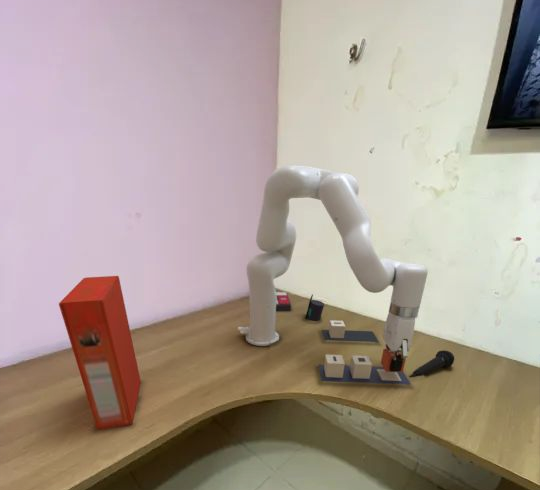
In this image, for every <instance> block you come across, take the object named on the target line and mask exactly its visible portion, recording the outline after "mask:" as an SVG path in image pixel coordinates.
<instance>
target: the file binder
mask: <svg viewBox="0 0 540 490" xmlns="http://www.w3.org/2000/svg"><path fill="white" fill-rule="evenodd" d="M122 290H123V289H122V285H121V280H120V277H119V275H109V276H106V275H105V276H90V277H88V276H87V277H83V278H82V279H81V280H80V281H79V282H78V283H77V284H76V285H75V286H74V287H73V288H72V289H71V290H70V291H69V292H68V293H67V294H66V295H65V297H64V298H62V300H61V301H59V302H58V307H59V310H60V312H61V316H62V319H63V322H64V326H65V329H66V333H67V335H68V339H69V342H70V345H71V348H72V352H73V355H74V358H75V361H76V365H77V368H78V371H79V374H80V378H81V381H82V384H83V387H84V391H85V394H86V397H87V400H88V403H89V407H90V410H91V413H92V416H93V420H94V423H95V426H96V429H97V430H99V431H100V430H105V429H111V428H117V427H123V426H131V425H132V424H133V423H134V419H135V413H136V407H137V404H138V399H139V393H140V388H141V383H142V381H141V377H140V371H139V367H138V362H137V357H136V352H135V348H134V347H135V346H134V343H133V339H132V334H131V329H130V328H131V327H130V324H129V318H128V314H127V310H126V304H125V300H124V299H125V298H124V295H123V291H122Z"/></svg>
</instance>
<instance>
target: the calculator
mask: <svg viewBox="0 0 540 490" xmlns="http://www.w3.org/2000/svg"><path fill="white" fill-rule="evenodd" d="M291 310H292V304H291V301H290V298H289V294H288V292H285V291H283V292H282V291H276V312H290V311H291Z"/></svg>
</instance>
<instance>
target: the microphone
mask: <svg viewBox="0 0 540 490" xmlns="http://www.w3.org/2000/svg"><path fill="white" fill-rule="evenodd" d="M454 361H455V355H454V354H453V353H452V352H451V351H449V350H445V349H443V350H439V351H437V352H436V354H435V357H434V358H432V359H430V360H429V361H427V362H425V363H424V364H423V365H421V366H419V367H418V368H416V369H415V370H414V371H413V372H412V373H411V374H410V375H409V376H408V378H415V377H421V376H425V375H427V374H429V373H433V372H434V371H436V370H438V369H440V368H442V367H443V368H451V367H452V366H453V364H454V363H455V362H454Z"/></svg>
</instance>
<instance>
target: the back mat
mask: <svg viewBox="0 0 540 490" xmlns="http://www.w3.org/2000/svg"><path fill="white" fill-rule="evenodd" d="M321 333H322V337H323V340H324V341H334V342H358V343H359V342H364V343H379V340H378V338H377V336H376V335H375V333H374V331H371V330H346V329H345V333H344V338H330V335H329V329H321Z"/></svg>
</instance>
